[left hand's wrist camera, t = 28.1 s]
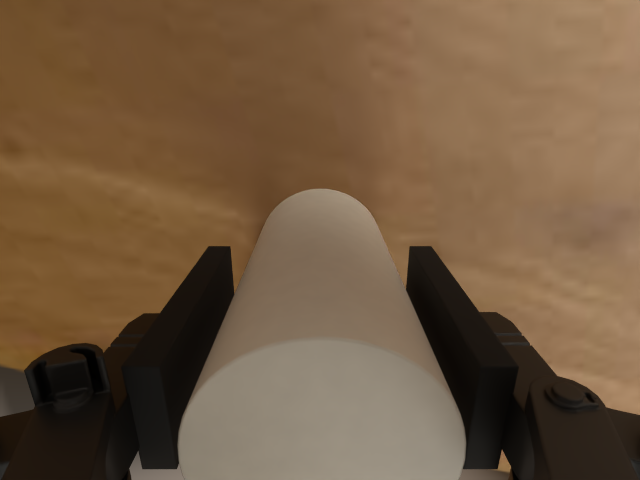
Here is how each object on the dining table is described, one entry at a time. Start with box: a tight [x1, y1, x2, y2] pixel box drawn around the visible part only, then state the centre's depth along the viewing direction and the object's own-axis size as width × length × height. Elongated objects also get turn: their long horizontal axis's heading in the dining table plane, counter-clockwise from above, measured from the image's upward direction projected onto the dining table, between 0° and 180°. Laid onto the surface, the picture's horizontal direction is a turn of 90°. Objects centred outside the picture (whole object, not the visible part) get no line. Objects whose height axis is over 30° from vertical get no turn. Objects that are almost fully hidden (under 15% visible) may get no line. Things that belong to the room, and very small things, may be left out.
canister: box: [177, 189, 466, 480], centre depth 12 cm, size 5×5×11 cm
